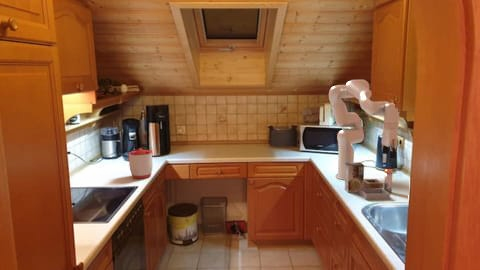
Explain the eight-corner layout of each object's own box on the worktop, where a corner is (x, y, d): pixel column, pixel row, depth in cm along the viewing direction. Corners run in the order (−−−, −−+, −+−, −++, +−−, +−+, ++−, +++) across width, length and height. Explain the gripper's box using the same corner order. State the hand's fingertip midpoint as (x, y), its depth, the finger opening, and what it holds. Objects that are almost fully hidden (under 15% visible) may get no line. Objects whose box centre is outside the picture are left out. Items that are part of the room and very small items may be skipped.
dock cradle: (359, 194, 211) (359, 188, 211) (382, 193, 212) (382, 188, 211) (365, 199, 201) (365, 194, 201) (389, 199, 202) (389, 193, 201)
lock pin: (382, 191, 215) (383, 169, 213) (389, 191, 216) (390, 169, 213) (385, 193, 211) (386, 170, 209) (392, 193, 212) (393, 170, 210)
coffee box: (359, 189, 220) (360, 162, 218) (363, 192, 214) (364, 164, 212) (344, 189, 220) (344, 162, 218) (347, 192, 214) (348, 165, 211)
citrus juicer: (130, 174, 263) (128, 145, 260) (155, 173, 264) (154, 145, 260) (124, 180, 248) (122, 150, 245) (150, 179, 248) (149, 149, 245)
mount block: (361, 187, 223) (361, 179, 223) (376, 187, 224) (376, 178, 223) (366, 192, 214) (367, 183, 214) (382, 191, 215) (382, 183, 214)
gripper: (377, 123, 216) (376, 152, 219) (390, 128, 199) (388, 159, 202) (390, 123, 216) (388, 152, 219) (405, 128, 199) (402, 159, 202)
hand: (388, 155), depth 211 cm, fingers open, 9 cm apart
